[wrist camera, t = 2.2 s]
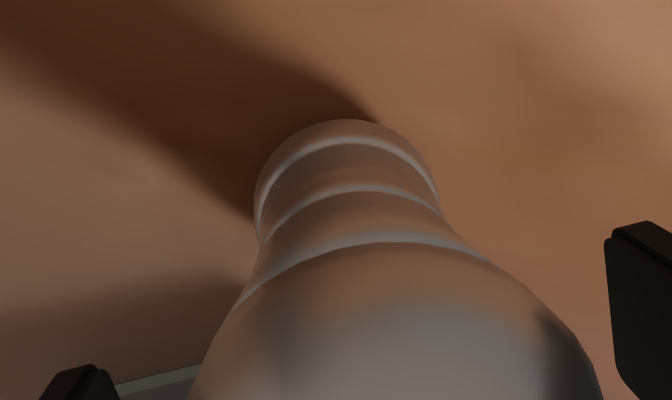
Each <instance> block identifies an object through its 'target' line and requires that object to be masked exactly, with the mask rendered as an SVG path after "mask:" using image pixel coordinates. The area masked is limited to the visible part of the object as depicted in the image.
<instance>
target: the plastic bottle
mask: <svg viewBox="0 0 672 400" xmlns="http://www.w3.org/2000/svg"><path fill="white" fill-rule="evenodd" d="M254 221H255V228H256V232H257V236H258V240H259V255H258V258H257V261H256V264H255V266H254V269H253V271H252V274H251V277H250V280H249V281H248V283H247V285H246V286H245V288H244V289H243V291H242V293H241V294H240V296H239V298H238V299H237V301H236V303H235V304H234V306H233V307H232V309H231V311H230V312H229V314H228V316H227V317H226V319H225V320H224V322H223V324H222V325H221V327H220V329H219V331H218V332H217V333H216V335H215V336H214V338H213V340H212V342H211V345H210V347H209V349H208V351H207V354H206V356H205V358H204V360H203V363H202V365H201V367H200V369H199V371H198V374H197V376H196V378H195V380H194V382H193V385H192V387H191V389H190V391H189V393H188V396H187V398H186V400H604V399H603V395H602V392H601V389H600V386H599V383H598V380H597V377H596V374H595V370H594V367H593V364H592V363H591V361H590V359H589V358H588V356H587V354H586V353H585V351H584V349H583V348H582V346H581V344H580V343H579V341H578V339H577V338H576V336H575V334H574V333H573V332H572V331H571V330H570V329H569V328H568V327H567V326H566V325H565V324H564V323H563V322H562V321H561V320H560V319H559V318H558V317H557V316H556V315H555V314H554V313H553V312H552V311H551V310H550V309H549V308H548V307H547V306H546V305H545V304H544V303H543V302H542V301H541V300H539V299H538V298H537V297H536V296H535V295H534V294H533V293H532V292H531V291H530V290H529V289H528V288H527V287H526V286H525V285H524V284H523V283H521V282H520V281H518V280H517V279H515V278H514V277H513V276H512V275H510V274H509V273H507V272H506V271H505V270H503V269H502V268H501V267H499V266H498V265H497V264H495V263H494V262H493V261H491V260H490V259H489V258H487V257H486V256H485V255H483V254H482V253H480V252H479V251H478V250H476V249H475V248H474V247H472V246H471V245H470V244H468V243H467V242H466V241H464V240H463V238H462V237H461V236H460V235H459V234H458V233H457V232H456V231H455V230H454V229H453V228H452V227H451V225H450V224H449V223H448V222H447V221H446V220H445V217H444V215H443V213H442V211H441V206H440V199H439V194H438V190H437V187H436V184H435V181H434V178H433V176H432V173H431V170H430V168H429V166H428V164H427V163H426V161H425V160H424V158H423V156H422V155H421V153H420V152H419V151H418V150H417V149H416V148H415V147H414V146H413V145H412V144H411V143H410V142H409V141H408V140H407V139H405V138H404V137H402V136H401V135H399V134H398V133H396V132H395V131H394V130H391V129H389V128H387V127H384V126H382V125H380V124H377V123H373V122H368V121H364V120H359V119H335V120H329V121H323V122H319V123H317V124H314V125H311V126H309V127H306V128H303V129H302V130H300V131H298V132H297V133H295V134H293V135H292V136H290V137H289V138H287V139H286V140H285V141H284V142H283V143H282V144H281V145H279V146H278V147H277V148H276V149H275V150H274V151H273V153H272V154H271V155H270V157H269V158H268V160H267V161H266V163H265V164H264V165H263V168H262V170H261V172H260V175H259V177H258V179H257V182H256V188H255V193H254Z"/></svg>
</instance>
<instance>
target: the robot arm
mask: <svg viewBox="0 0 672 400" xmlns="http://www.w3.org/2000/svg"><path fill="white" fill-rule="evenodd" d="M604 254H605V264H606V274H607V284H608V294H609V304H610V314H611V324H612V334H613V344H614V354H615V363H616V367H617V370H618V372H619V374H620V376H621V378H622V380H623V381H624V382H625V384H626V385H627V386H628V387H629V388H630V389H631V390H632V392H633V393H634V394H635V395H636V396H637V397H638V398H639V399H640V400H672V233H670V232H668V231H667V230H665V229H663V228H661V227H660V226H658V225H656V224H654V223H653V222H650V221H642V222H639V223H635V224H631V225H627V226H623V227H619V228H615V229H614V230H613V231H612V235H611V238H608V239H606V240H605V242H604ZM39 400H120V397H119V395H118V393H117V391H116V389H115V387H114V384H113V382H112V380H111V378H110V376H109V374H108V372H107V371H106V370H104V369H100V370H98V368H97V367H96V366H94V365H92V364H88V365H84V366H80V367H76V368H72V369H69V370H65V371H61V372H58V373H57V374H56V375H55V377H54V378H53V379H52V381H51V382H50V384H49V385H48V387H47V388H46V390H45V391H44V393H43V394H42V396H41V397H40V399H39Z"/></svg>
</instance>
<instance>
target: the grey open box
mask: <svg viewBox="0 0 672 400" xmlns="http://www.w3.org/2000/svg"><path fill="white" fill-rule="evenodd" d="M201 365H202V363H201V364H197V365H193V366H189V367H185V368H181V369H177V370H173V371H169V372H165V373H161V374H157V375H153V376H149V377H145V378H141V379H137V380H133V381H129V382H125V383H121V384H117V385H114V387H115V389H116V391H117V393H118V395H119V397H120V400H186V398H187V396H188V393H189V391H190V389H191V387H192V385H193V382H194V380H195V378H196V376H197V374H198V371H199V369H200V367H201Z"/></svg>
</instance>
